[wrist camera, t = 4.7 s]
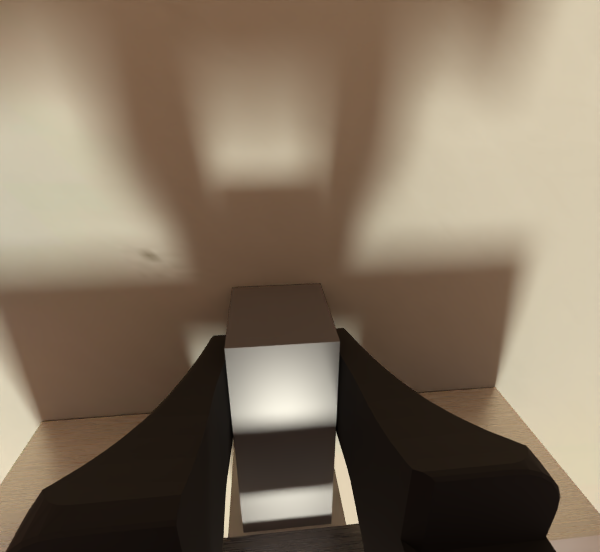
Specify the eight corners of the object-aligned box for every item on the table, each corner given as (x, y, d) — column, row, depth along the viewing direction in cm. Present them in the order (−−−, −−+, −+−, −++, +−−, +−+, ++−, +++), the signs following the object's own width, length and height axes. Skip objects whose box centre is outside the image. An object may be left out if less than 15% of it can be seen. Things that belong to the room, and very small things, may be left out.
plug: (334, 282, 13) (363, 351, 10) (326, 502, 18) (343, 603, 15) (217, 288, 13) (201, 362, 9) (240, 511, 18) (236, 616, 14)
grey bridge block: (495, 387, 16) (615, 532, 11) (485, 423, 17) (593, 575, 12) (42, 421, 15) (-86, 614, 9) (56, 459, 15) (-53, 655, 10)
